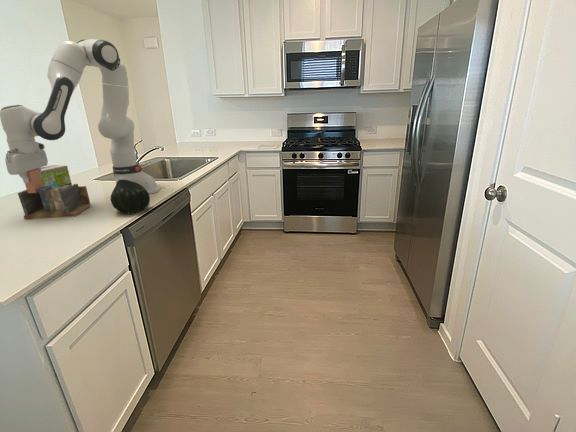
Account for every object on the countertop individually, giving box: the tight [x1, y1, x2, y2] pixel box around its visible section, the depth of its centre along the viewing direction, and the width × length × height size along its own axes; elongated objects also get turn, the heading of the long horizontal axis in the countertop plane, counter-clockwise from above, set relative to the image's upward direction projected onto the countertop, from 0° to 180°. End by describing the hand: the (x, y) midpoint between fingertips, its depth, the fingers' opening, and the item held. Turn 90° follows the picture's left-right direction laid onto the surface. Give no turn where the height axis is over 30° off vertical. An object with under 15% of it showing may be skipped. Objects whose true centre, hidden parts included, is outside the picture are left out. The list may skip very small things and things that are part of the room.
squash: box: [110, 179, 151, 215], centre depth 136 cm, size 14×15×15 cm
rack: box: [17, 183, 92, 220], centre depth 136 cm, size 20×14×12 cm
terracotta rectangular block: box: [24, 169, 43, 193], centre depth 132 cm, size 3×6×9 cm, turn 8°
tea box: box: [41, 164, 73, 188], centre depth 161 cm, size 15×10×15 cm, turn 168°
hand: (33, 180), depth 132 cm, fingers closed on terracotta rectangular block, 6 cm apart
